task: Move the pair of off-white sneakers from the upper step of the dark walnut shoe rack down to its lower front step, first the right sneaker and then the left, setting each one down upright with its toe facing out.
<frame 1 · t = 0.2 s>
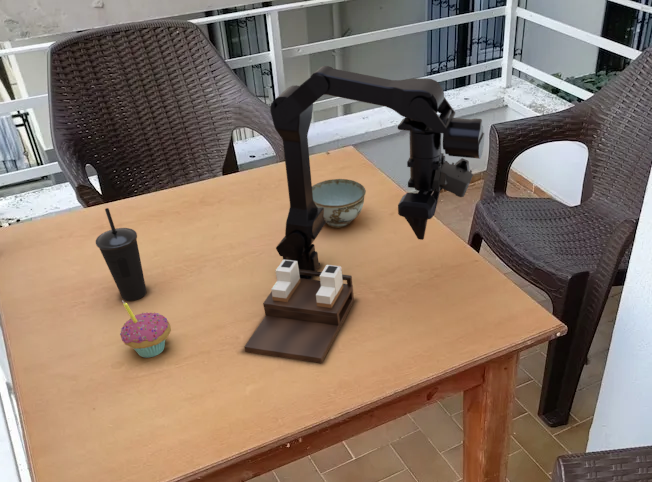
hand: (426, 226, 134), 15 cm above the table, tool pointing down, fingers open, 9 cm apart
sneaker right: (330, 296, 133), point 4 cm above the table, touching shoe rack
cupcake: (152, 349, 128), on the table
bowl: (339, 222, 165), on the table
shoe rack: (302, 325, 133), on the table
drinking cup: (134, 294, 142), on the table
sneaker left: (287, 290, 135), point 4 cm above the table, touching shoe rack
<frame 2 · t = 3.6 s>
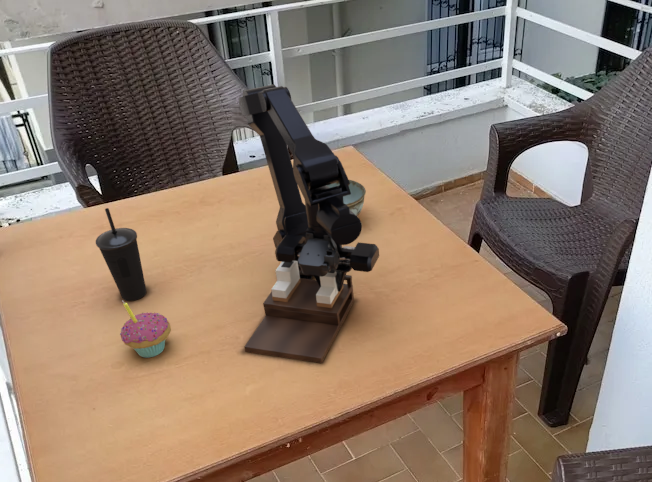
hand: (331, 289, 133), 5 cm above the table, tool pointing down, fingers closed on sneaker right, 3 cm apart
sneaker right: (330, 296, 133), point 4 cm above the table, touching gripper, shoe rack
everything else where it was.
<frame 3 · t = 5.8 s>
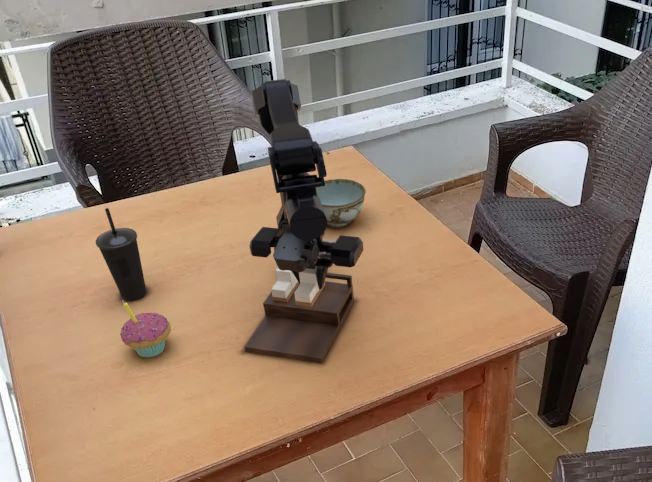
hand: (312, 286, 123), 12 cm above the table, tool pointing down, fingers closed on sneaker right, 3 cm apart
sneaker right: (310, 294, 122), point 11 cm above the table, touching gripper
everything else where it was.
when the fingers open (2 cm above the table, at t = 8.3 s): sneaker right stays where it is, resting on shoe rack.
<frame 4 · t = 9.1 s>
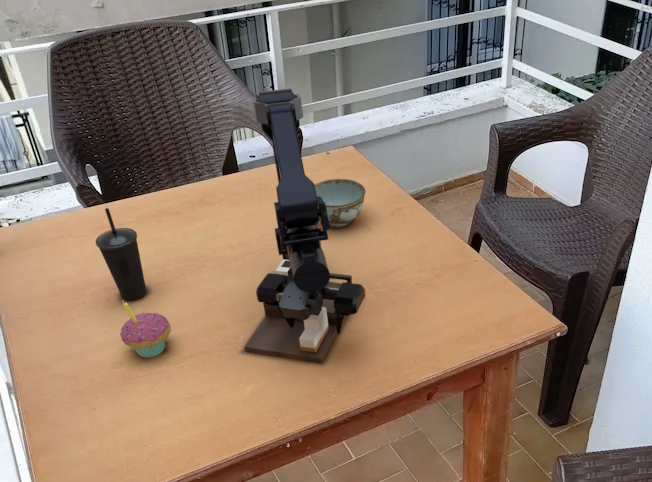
hand: (315, 329, 127), 3 cm above the table, tool pointing down, fingers open, 9 cm apart
sneaker right: (314, 339, 128), point 1 cm above the table, touching shoe rack
everything else where it was.
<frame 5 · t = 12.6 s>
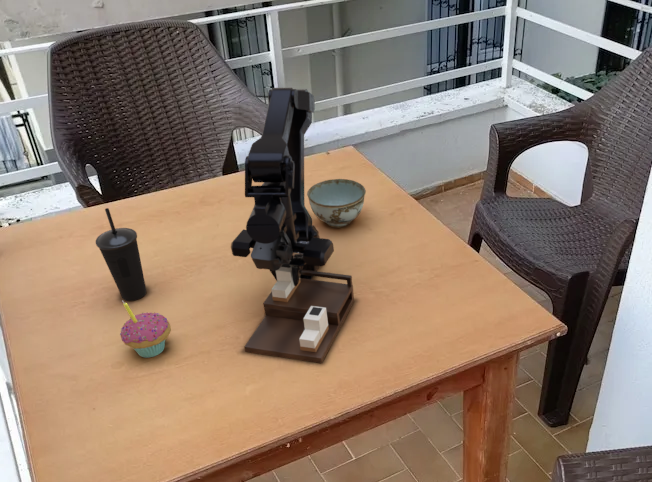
hand: (288, 283, 135), 5 cm above the table, tool pointing down, fingers closed on sneaker left, 3 cm apart
sneaker left: (287, 290, 135), point 4 cm above the table, touching gripper, shoe rack
everything else where it was.
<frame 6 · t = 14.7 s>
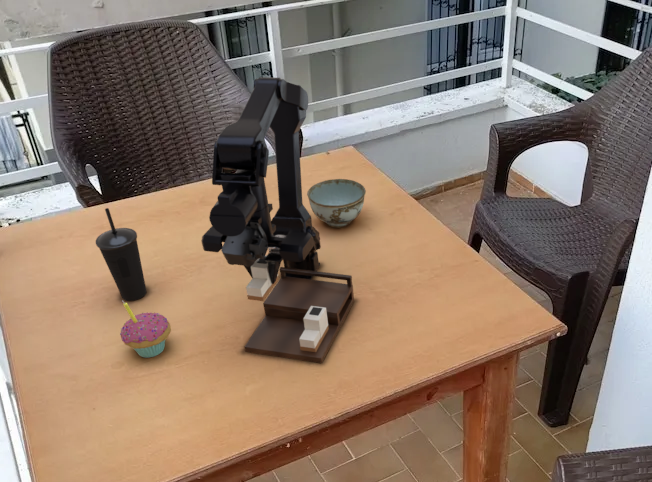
hand: (265, 281, 124), 12 cm above the table, tool pointing down, fingers closed on sneaker left, 3 cm apart
sneaker left: (263, 289, 124), point 11 cm above the table, touching gripper
everything else where it was.
when the fingers open (2 cm above the table, at t = 17.1 s): sneaker left stays where it is, resting on shoe rack.
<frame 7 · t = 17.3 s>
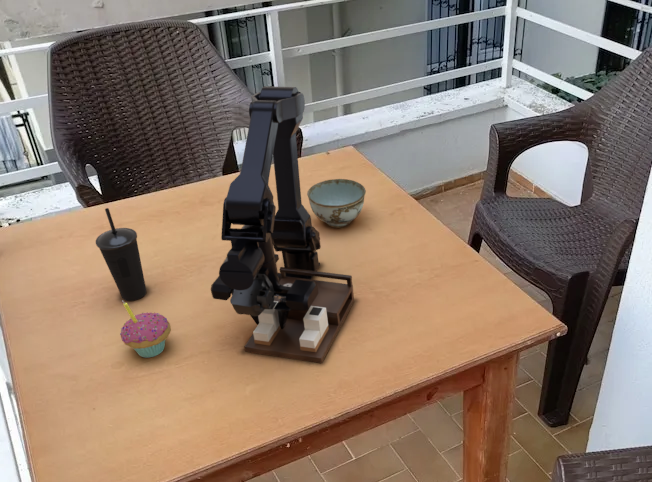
hand: (271, 326, 130), 2 cm above the table, tool pointing down, fingers open, 4 cm apart
sneaker left: (269, 332, 129), point 1 cm above the table, touching shoe rack
everything else where it was.
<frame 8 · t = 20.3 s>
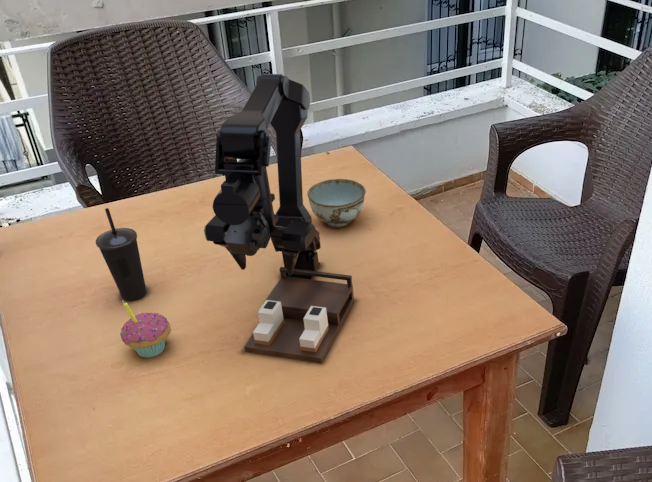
hand: (267, 271, 125), 13 cm above the table, tool pointing down, fingers open, 9 cm apart
nothing on the table moved.
at the end: sneaker right 0.1 cm from the target spot, point 1.2 cm above the table; sneaker left 0.1 cm from the target spot, point 1.2 cm above the table; sneaker right tilted 0° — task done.
